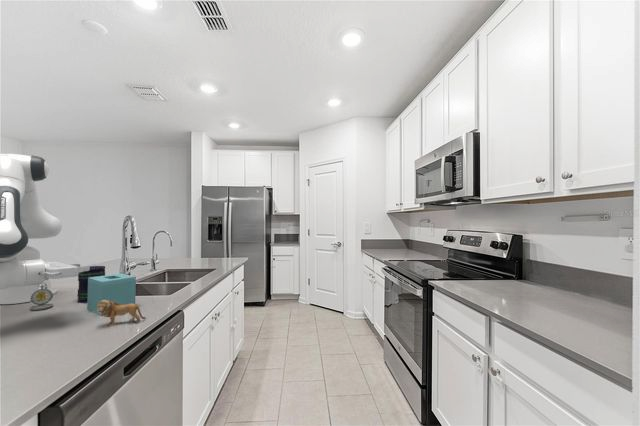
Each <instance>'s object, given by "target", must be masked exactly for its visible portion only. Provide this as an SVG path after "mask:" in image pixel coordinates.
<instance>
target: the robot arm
mask: <svg viewBox="0 0 640 426" xmlns="http://www.w3.org/2000/svg"><path fill="white" fill-rule="evenodd" d="M49 173H50V167H49V165H48V163H47V162H46V159H45V158H43V157H42V156H37V155H34V154H33V155H27V154H20V153H18V154H17V153H10V152H9V153H0V305H14V304H23V303H29V302H32V301H31V295H32V294H33V293H34V292H35V291H37V290H39V289H41V287H39V286H41V285H43V286H44V287H43V289H48V290H50V291H51V292H52V294H53V295H55V294H56V293H58V290H57V289H52V282H51V281H50V280H54V279H55V280H56V279H57V280H58V279H64V278H65V279H66V278H75V277H78V273H80V272H84V271H89V270H90V267H89V265H85V266H84V265H83V266H81V264H80V263H65V262H61V261H44V260H43V259H41V253H40V251H39V250H38V249H37V248H35V247H33V246H29V245H28V243H29V240H31V239H32V240H33V239H35V240H36V239H39V240H41V239H48V238H53V237H57V236H58V235H59V234H60V233H61V231H62V229H63V225H62V222H61V220H60V219H59V218H58V217H56V216H54V215H52V214H50V213H49V212H47V211H46V210H45V209H44V208H43V207H42V205H41V204H40V202H39V198H38V193H37V188H36V187H37V186H36V182H39V181H43V180H45V179H46V178H47V176H48V175H49ZM44 283H46V284H47V285H46V284H44ZM39 284H40V285H39ZM38 285H39V286H38ZM45 285H46V286H45ZM45 295H47V294H45ZM47 297H48V295H47ZM47 297H45V298H47ZM36 299H37V298H36ZM39 299H40V298H39ZM39 301H42V300H41V299H40V300H39Z"/></svg>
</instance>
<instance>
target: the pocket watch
mask: <svg viewBox="0 0 640 426" xmlns="http://www.w3.org/2000/svg"><path fill="white" fill-rule="evenodd" d="M44 284H46V283H44ZM39 285H40V284H39ZM39 285H38V286H39ZM46 285H47V284H46ZM46 285H45V286H46ZM39 287H41V289H39V290H37V291H35V292H34V293H33V294H32V295H31V301H30V302H31V303H33V304H34V306H31V307H30V310H31V311H43V310H47V309H51V308H52V307H53V306H54V304H52V303H49V302H50V301H52V299H53V298H54V294H52V292H51V291H50V290H48V289H43V287H44V286H43V285H41V286H39ZM45 294H47V295H48V297H47V295H45ZM45 297H47V298H45ZM36 298H37V299H36ZM39 298H40V299H41V300H40V299H39Z"/></svg>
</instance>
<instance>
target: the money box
mask: <svg viewBox="0 0 640 426" xmlns="http://www.w3.org/2000/svg"><path fill="white" fill-rule="evenodd" d="M136 286H137V277H136V276H134V275H130V274H126V273H120V272H119V273H115V274H105V276H97V277H90V278H88V299H87V303H86V304H87V305H86V308H87V311H91V312H92V313H95V314H97V315H99V316H103V315H102V314H100V313H98V311H97V305H98V302H100V301H102V300H109V301H112V302H116V303H118V304H119V305H127V304H131V303H132V304H136V293H137V292H136Z"/></svg>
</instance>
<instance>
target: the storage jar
mask: <svg viewBox="0 0 640 426" xmlns="http://www.w3.org/2000/svg"><path fill="white" fill-rule="evenodd" d="M88 266H89V265H88ZM89 267H90V270H89V271H84V272H80V273H78V275H77V277H78V278H77V281H78V289H77V293H76V294H77V303H78V304H87V299H88V278H90V277H97V276H105V275H106V270H105V269H106V266H105V265H91V266H89Z"/></svg>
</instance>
